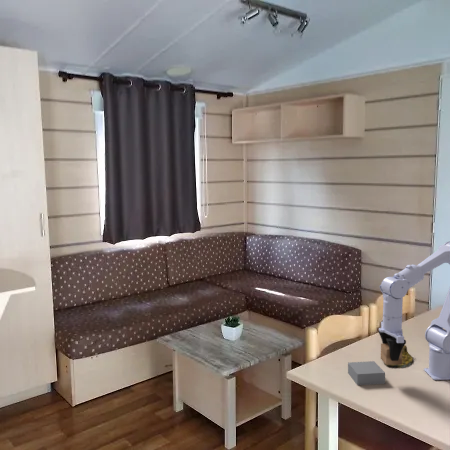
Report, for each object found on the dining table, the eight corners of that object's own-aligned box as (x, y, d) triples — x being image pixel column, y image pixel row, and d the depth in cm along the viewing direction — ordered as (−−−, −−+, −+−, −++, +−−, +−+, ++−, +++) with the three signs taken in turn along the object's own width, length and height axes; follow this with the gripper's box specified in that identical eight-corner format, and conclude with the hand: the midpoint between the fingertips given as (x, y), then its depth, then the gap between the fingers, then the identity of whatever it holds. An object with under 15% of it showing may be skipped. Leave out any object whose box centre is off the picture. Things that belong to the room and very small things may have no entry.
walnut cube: (395, 358, 153) (396, 343, 153) (401, 364, 148) (402, 349, 148) (380, 358, 153) (381, 343, 153) (386, 364, 148) (386, 349, 148)
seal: (403, 375, 160) (417, 360, 171) (405, 362, 159) (419, 348, 170) (376, 365, 166) (392, 351, 177) (378, 352, 165) (394, 339, 176)
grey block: (373, 372, 160) (374, 361, 159) (384, 384, 151) (385, 372, 150) (347, 373, 159) (348, 362, 159) (357, 386, 150) (357, 374, 150)
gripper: (372, 308, 156) (371, 348, 158) (388, 323, 142) (386, 366, 143) (393, 308, 156) (392, 347, 158) (411, 322, 142) (410, 365, 144)
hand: (391, 356), depth 151 cm, fingers closed on walnut cube, 5 cm apart
